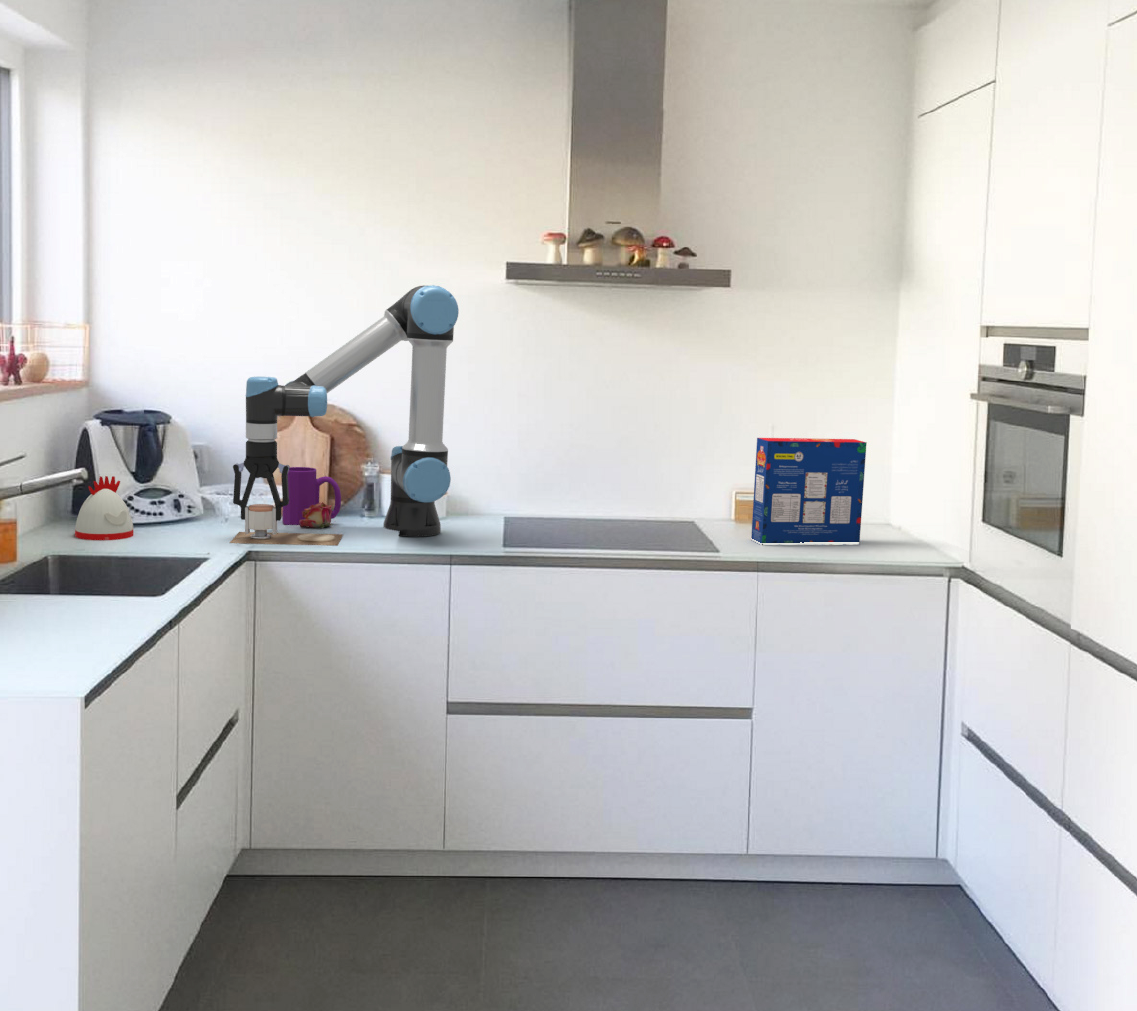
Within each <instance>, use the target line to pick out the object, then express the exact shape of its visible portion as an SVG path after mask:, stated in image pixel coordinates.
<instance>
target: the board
mask: <svg viewBox="0 0 1137 1011" xmlns="http://www.w3.org/2000/svg"><path fill="white" fill-rule="evenodd" d="M253 534H255V531H250V533H249V534H245V531H239V532H237V533H236V535H235V536H234V537H233V538H232V539H231V540H230V542H229V544H248V545H249V544H250V545H251V544H253V545H254V544H255V545H288V546H290V545H293V546H295V545H296V546H332V547H334V546H335V547H337V546H339V544H340V542H341V540H342V538H343V536H344V534H341V533H327V534H328V535H333V536H334V537H335V540H333V541H329V542H304V541H300V540H298V536H299V535H303V534H312V533H311V532H309V533H306V532H305V533H304V532H303V533H301V532H299V533H298V532H277V533H276V535H272V532H268V531H267V534H269V535H271V539H266V540H256V539H251V535H253Z"/></svg>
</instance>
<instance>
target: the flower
mask: <svg viewBox="0 0 1137 1011" xmlns="http://www.w3.org/2000/svg"><path fill="white" fill-rule="evenodd" d="M332 506H333V505H332V504H331V505H329V504H326V503H324V502H319V503H318V504H316V505H311V506H310V507H309V509H304V511H302V514H303V517H304V518H305V519H304V520H300V521H299V523H300V525H298V526H299V528H301V527H305V528H317V529H318V528H320V529H324V528H325V527H328V528H329V527H331V526H332V525H333V523H331V522H332V519H331V513H332V511H333V509H332ZM335 522H336V520H334V523H335Z"/></svg>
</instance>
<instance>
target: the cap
mask: <svg viewBox="0 0 1137 1011" xmlns="http://www.w3.org/2000/svg"><path fill="white" fill-rule="evenodd" d="M248 506H249V526H248V528H249V529H250V530H254V531H255V530H267V531H268V530H272V508H274V507H275V505H273V504H268V503H255V504H250V505H248Z"/></svg>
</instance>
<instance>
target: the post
mask: <svg viewBox="0 0 1137 1011" xmlns="http://www.w3.org/2000/svg"><path fill="white" fill-rule="evenodd" d="M254 532H255V534H253V535H251V539H256V540H266V539H271V535H269V534H267V532H268V530H254Z"/></svg>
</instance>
